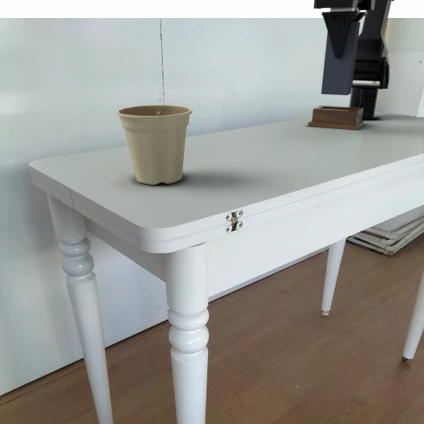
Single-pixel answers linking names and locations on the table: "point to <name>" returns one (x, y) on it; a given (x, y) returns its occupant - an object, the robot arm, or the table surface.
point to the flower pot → (156, 141)
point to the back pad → (340, 65)
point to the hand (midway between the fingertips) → (340, 57)
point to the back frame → (337, 117)
